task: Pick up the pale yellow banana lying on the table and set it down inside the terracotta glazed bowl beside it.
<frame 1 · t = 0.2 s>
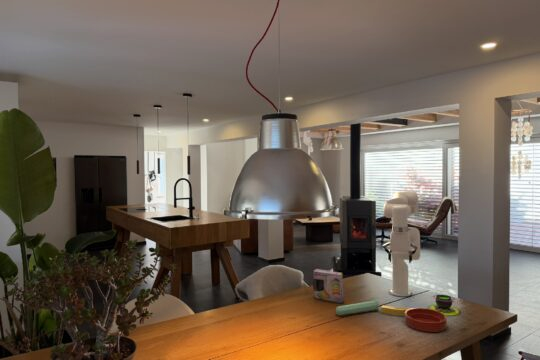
hand: (400, 262, 196), 31 cm above the table, tool pointing down, fingers open, 9 cm apart
banana: (396, 313, 206), on the table
toy cauldron: (443, 310, 210), on the table
bowl: (425, 324, 191), on the table
pale green faceted rod: (356, 313, 208), on the table
cake pan box: (328, 300, 229), on the table
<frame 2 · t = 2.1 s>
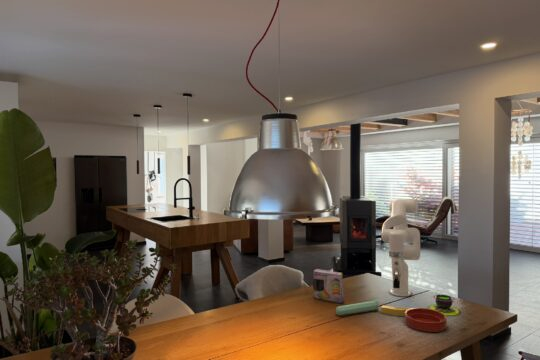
hand: (396, 285, 205), 16 cm above the table, tool pointing down, fingers open, 9 cm apart
nothing on the table moved.
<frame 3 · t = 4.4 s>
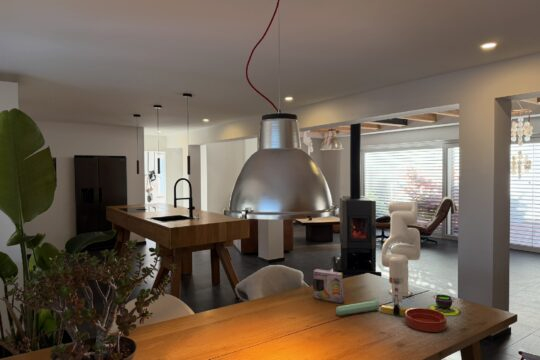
hand: (396, 312, 205), 1 cm above the table, tool pointing down, fingers closed on banana, 3 cm apart
banana: (396, 313, 206), on the table, touching gripper
everything else where it was.
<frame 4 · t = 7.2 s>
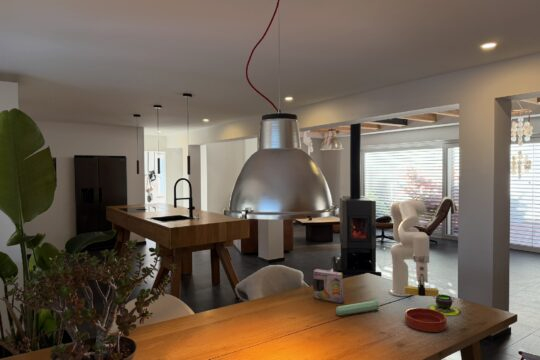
hand: (421, 293, 192), 15 cm above the table, tool pointing down, fingers closed on banana, 3 cm apart
banana: (421, 294, 193), point 15 cm above the table, touching gripper
everything else where it was.
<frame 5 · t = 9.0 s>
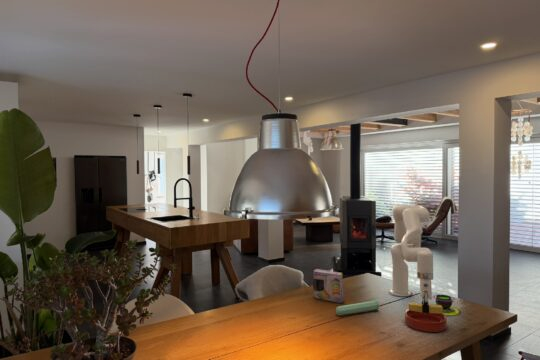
hand: (425, 310, 190), 7 cm above the table, tool pointing down, fingers closed on banana, 3 cm apart
banana: (425, 311, 191), point 7 cm above the table, touching gripper
everything else where it was.
when the fingers open (3 cm above the table, at t = 10.2 s): banana stays where it is, resting on bowl.
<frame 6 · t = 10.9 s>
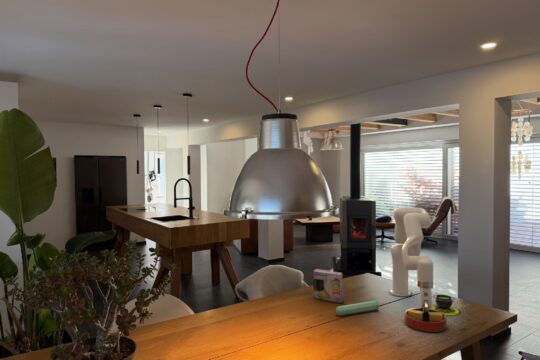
hand: (425, 317, 190), 4 cm above the table, tool pointing down, fingers open, 9 cm apart
banana: (425, 318, 191), point 3 cm above the table, touching bowl
everything else where it was.
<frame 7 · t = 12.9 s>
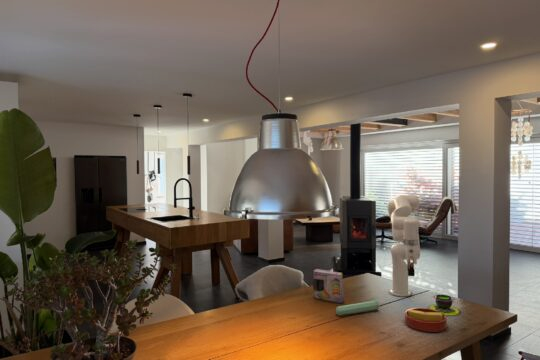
hand: (410, 273, 202), 23 cm above the table, tool pointing down, fingers open, 9 cm apart
nothing on the table moved.
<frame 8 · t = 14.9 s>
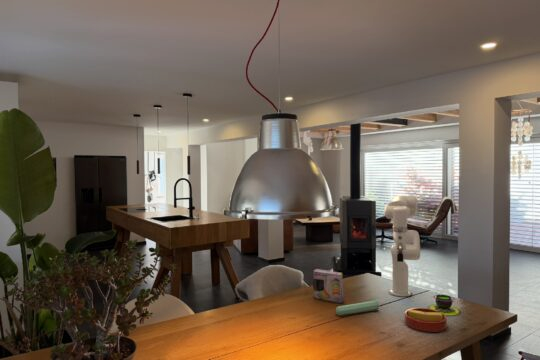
hand: (400, 259, 212), 28 cm above the table, tool pointing down, fingers open, 9 cm apart
nothing on the table moved.
at the end: banana inside the target area in the bowl (0.9 cm from its centre), point 2.8 cm above the bowl's base; the gripper is holding nothing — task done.
